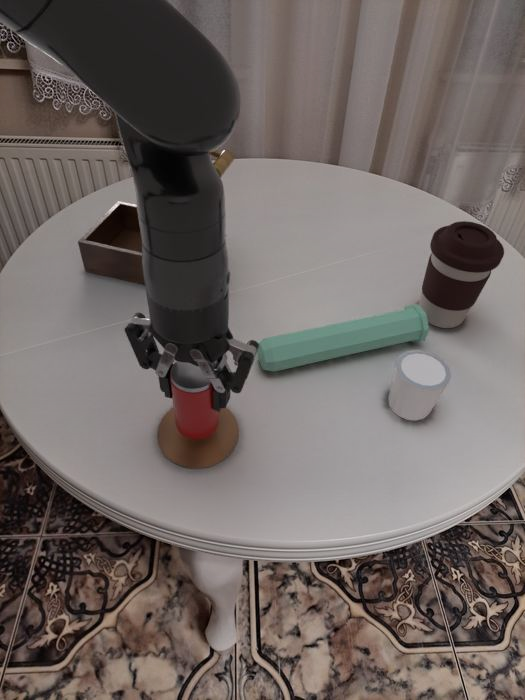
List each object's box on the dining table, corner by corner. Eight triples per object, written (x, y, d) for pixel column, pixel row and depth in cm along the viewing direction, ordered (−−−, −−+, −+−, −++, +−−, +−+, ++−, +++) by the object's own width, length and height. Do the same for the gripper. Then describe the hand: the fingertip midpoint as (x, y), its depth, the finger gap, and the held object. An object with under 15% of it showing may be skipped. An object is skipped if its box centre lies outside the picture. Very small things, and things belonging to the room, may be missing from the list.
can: (174, 440, 59) (167, 390, 53) (176, 404, 63) (171, 354, 56) (219, 439, 60) (217, 389, 53) (219, 404, 63) (217, 353, 57)
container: (262, 345, 66) (430, 310, 72) (249, 330, 71) (407, 298, 77) (266, 385, 68) (428, 348, 74) (253, 367, 74) (406, 334, 79)
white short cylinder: (445, 412, 68) (463, 377, 63) (406, 432, 65) (421, 397, 60) (411, 377, 72) (424, 342, 67) (373, 395, 69) (384, 360, 64)
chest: (84, 271, 85) (77, 241, 81) (123, 229, 94) (118, 200, 90) (171, 291, 82) (168, 261, 78) (202, 246, 92) (200, 217, 87)
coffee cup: (480, 310, 83) (517, 230, 72) (459, 344, 77) (497, 263, 66) (422, 286, 86) (450, 207, 76) (399, 318, 80) (425, 236, 70)
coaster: (154, 470, 59) (153, 467, 59) (160, 402, 66) (160, 399, 66) (240, 467, 60) (240, 464, 60) (237, 401, 67) (237, 398, 67)
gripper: (94, 288, 45) (123, 407, 57) (250, 325, 42) (245, 441, 54) (133, 242, 50) (152, 361, 62) (274, 273, 47) (265, 390, 59)
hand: (195, 398), depth 58 cm, fingers closed on can, 5 cm apart
